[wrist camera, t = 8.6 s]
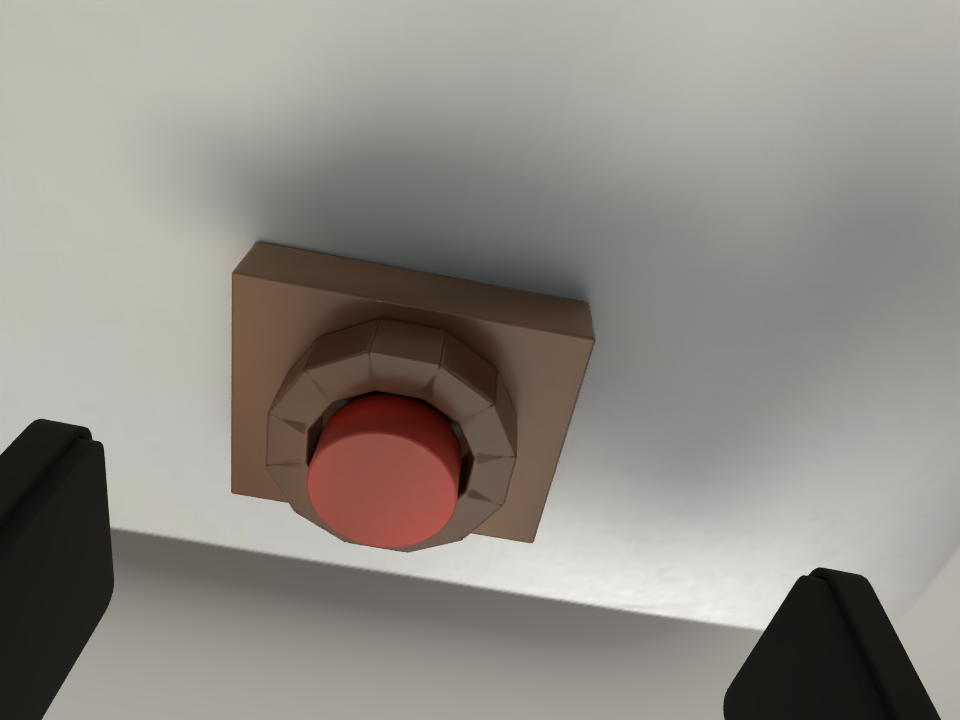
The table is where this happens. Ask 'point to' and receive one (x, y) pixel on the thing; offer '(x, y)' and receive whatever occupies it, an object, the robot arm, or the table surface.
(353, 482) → the red push button
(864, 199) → the table surface
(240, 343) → the button housing
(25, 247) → the table surface
